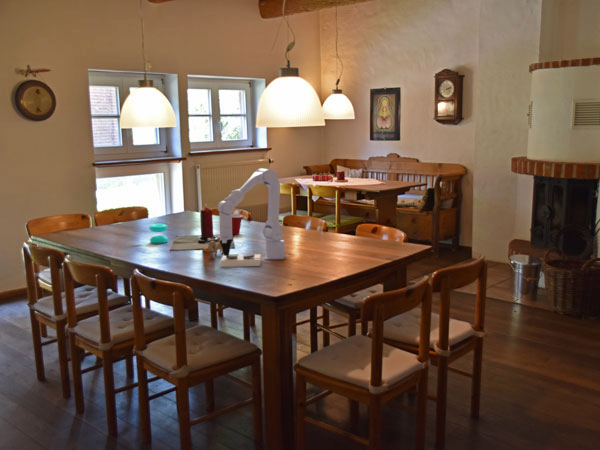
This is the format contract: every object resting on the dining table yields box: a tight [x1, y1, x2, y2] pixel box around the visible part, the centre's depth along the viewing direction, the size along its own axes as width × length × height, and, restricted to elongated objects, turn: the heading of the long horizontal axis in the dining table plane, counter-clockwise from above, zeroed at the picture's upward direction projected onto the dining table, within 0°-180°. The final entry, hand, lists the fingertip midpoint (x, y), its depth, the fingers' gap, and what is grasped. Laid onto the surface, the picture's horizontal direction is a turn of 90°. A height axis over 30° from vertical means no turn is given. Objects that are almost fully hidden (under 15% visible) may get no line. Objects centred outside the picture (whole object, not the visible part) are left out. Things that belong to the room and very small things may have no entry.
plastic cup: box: [232, 213, 244, 236], centre depth 341 cm, size 11×11×12 cm
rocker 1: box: [226, 253, 239, 259], centre depth 266 cm, size 5×4×2 cm
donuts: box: [149, 223, 169, 245], centre depth 321 cm, size 10×10×10 cm
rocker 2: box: [243, 252, 255, 259], centre depth 266 cm, size 5×4×2 cm
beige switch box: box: [220, 253, 262, 268], centre depth 269 cm, size 18×11×3 cm, turn 91°
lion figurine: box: [207, 240, 224, 259], centre depth 284 cm, size 15×5×9 cm, turn 173°
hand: (226, 255), depth 266 cm, fingers closed, pressing on rocker 1
